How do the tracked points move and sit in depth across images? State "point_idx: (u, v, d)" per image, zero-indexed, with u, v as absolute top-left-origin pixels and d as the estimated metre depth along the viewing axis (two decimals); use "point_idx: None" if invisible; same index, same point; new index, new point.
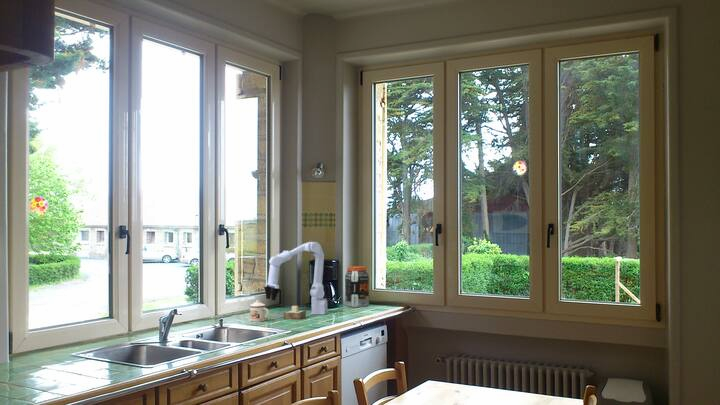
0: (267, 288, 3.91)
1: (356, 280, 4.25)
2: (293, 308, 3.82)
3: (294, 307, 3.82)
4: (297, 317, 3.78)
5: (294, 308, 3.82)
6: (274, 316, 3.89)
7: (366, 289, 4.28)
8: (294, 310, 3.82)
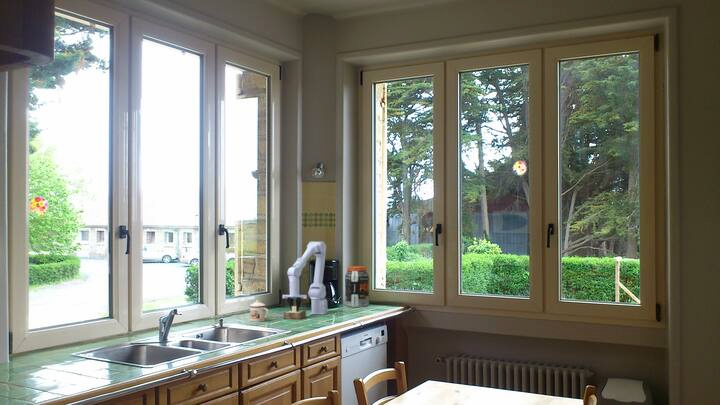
0: (291, 300, 3.83)
1: (356, 280, 4.25)
2: (293, 308, 3.82)
3: (294, 307, 3.82)
4: (297, 317, 3.78)
5: (294, 308, 3.82)
6: (274, 316, 3.89)
7: (366, 289, 4.28)
8: (294, 310, 3.82)
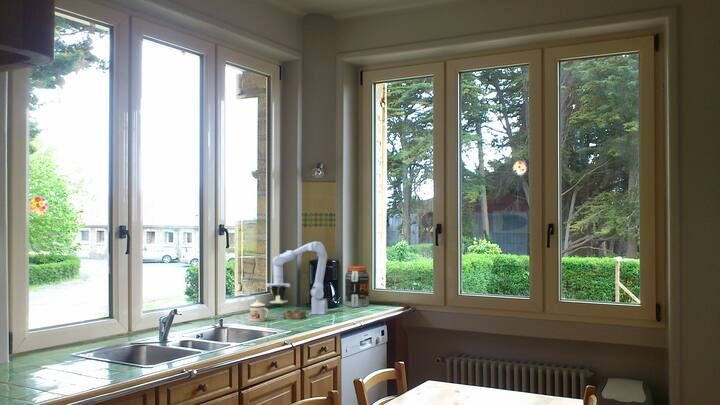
0: (275, 288, 3.92)
1: (356, 280, 4.25)
2: (277, 298, 3.92)
3: (278, 297, 3.91)
4: (297, 317, 3.78)
5: (278, 298, 3.91)
6: (274, 316, 3.89)
7: (366, 289, 4.28)
8: (278, 299, 3.91)
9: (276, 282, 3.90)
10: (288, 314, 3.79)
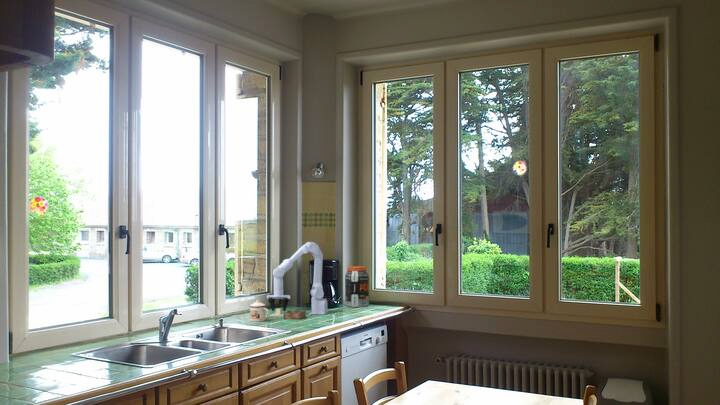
0: (272, 300, 3.92)
1: (356, 280, 4.25)
2: (277, 311, 3.91)
3: (278, 310, 3.91)
4: (297, 317, 3.78)
5: (278, 311, 3.91)
6: (274, 316, 3.89)
7: (366, 289, 4.28)
8: (278, 313, 3.91)
9: (276, 294, 3.90)
10: (288, 314, 3.79)
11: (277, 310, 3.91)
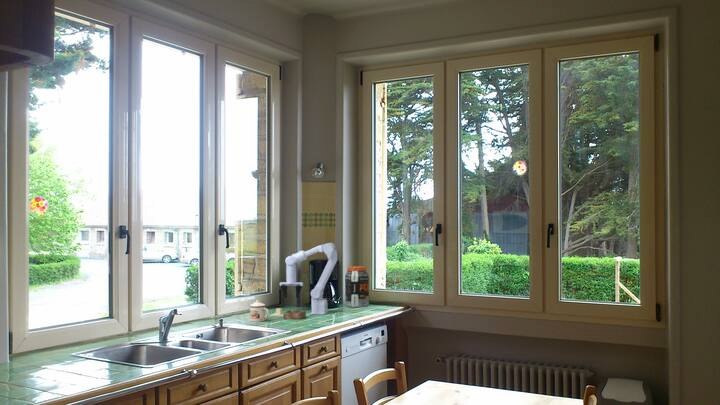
0: (284, 287, 4.02)
1: (356, 280, 4.25)
2: (277, 311, 3.91)
3: (278, 310, 3.91)
4: (297, 317, 3.78)
5: (278, 311, 3.91)
6: (274, 316, 3.89)
7: (366, 289, 4.28)
8: (278, 313, 3.91)
9: (289, 281, 4.00)
10: (288, 314, 3.79)
11: (277, 310, 3.91)
